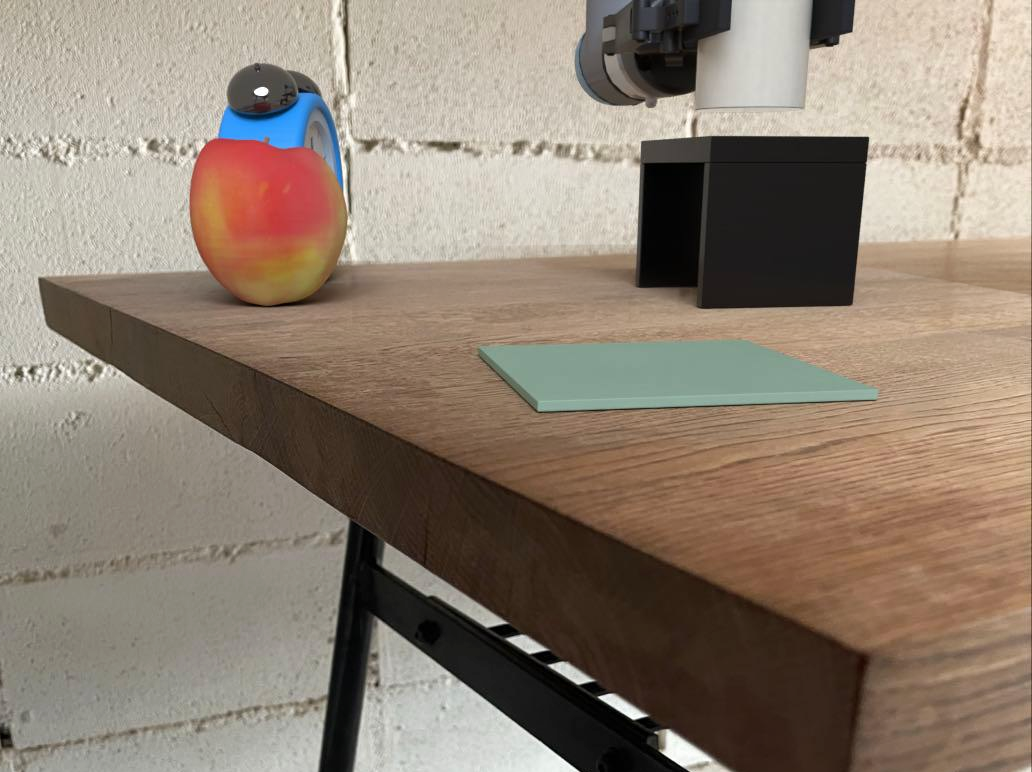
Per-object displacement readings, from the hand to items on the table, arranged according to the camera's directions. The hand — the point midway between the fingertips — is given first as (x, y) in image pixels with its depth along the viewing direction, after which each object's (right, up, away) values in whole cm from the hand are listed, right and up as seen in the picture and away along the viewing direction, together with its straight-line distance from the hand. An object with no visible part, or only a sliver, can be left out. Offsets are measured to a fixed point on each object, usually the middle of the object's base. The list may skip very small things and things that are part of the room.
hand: (787, 6), depth 66 cm
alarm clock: (-33, -12, +18) cm, 40 cm away
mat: (-11, -25, -20) cm, 33 cm away
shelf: (-1, -15, +10) cm, 18 cm away
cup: (-1, -4, +6) cm, 7 cm away
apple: (-31, -17, +5) cm, 36 cm away
